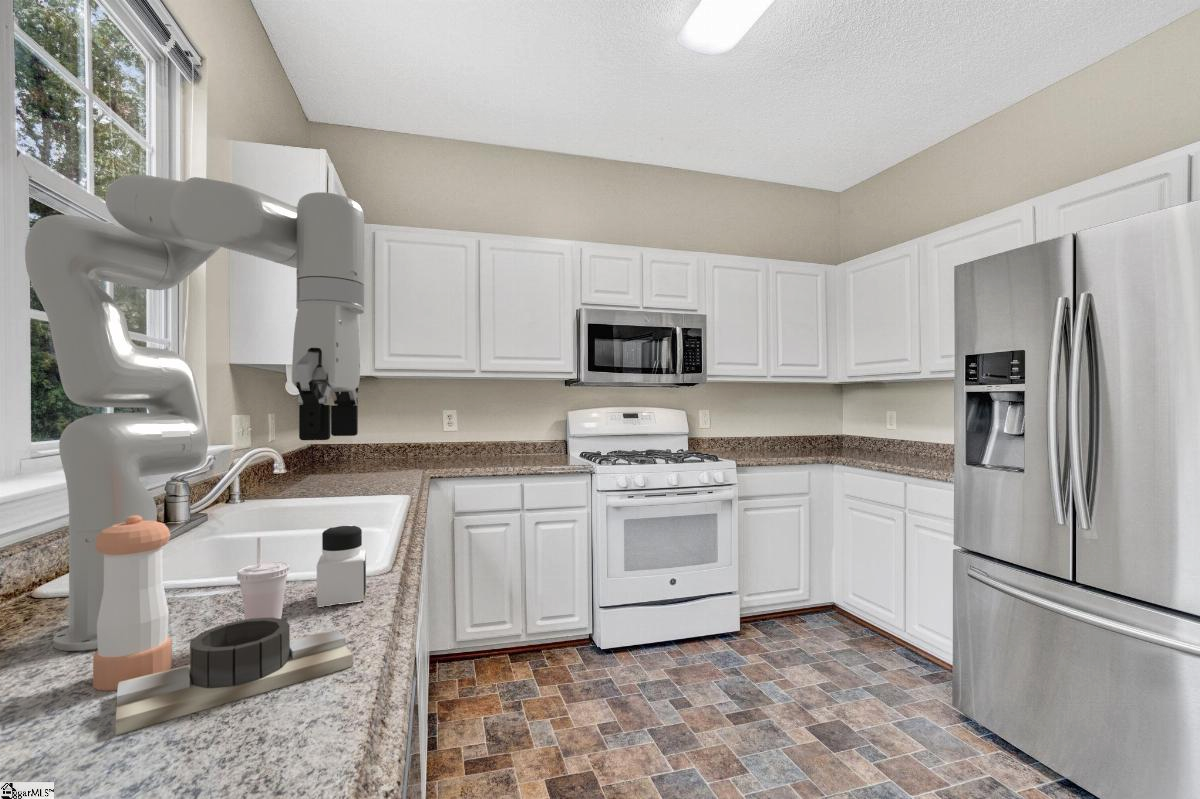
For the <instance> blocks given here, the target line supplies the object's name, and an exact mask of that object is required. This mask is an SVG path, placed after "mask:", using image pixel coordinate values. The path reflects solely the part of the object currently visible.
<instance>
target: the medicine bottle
mask: <svg viewBox="0 0 1200 799" xmlns="http://www.w3.org/2000/svg"><path fill="white" fill-rule="evenodd" d="M362 532H363V529H362V528H361V527H360V526H357V525H351V524H348V525H337V526H332V527H329V528H327V529H325V530H324V531H323V532H322V534H321V535H322V536H321V539H322V540H321V541H322V544H321V545H322V546H321V547H322V548H321V549H322V554H320V557H319V558H318V561H317V564H316V607H317V606H323V605H330V604H338V603H345V602H351V601H359V600H364V599H365V600H366V594H367V567H366V566H367V561H366V560H367V552H366V550H365V549H363V546H362V544H363V541H362V539H363V538H362V537H363V535H362ZM365 593H366V594H365Z"/></svg>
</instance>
